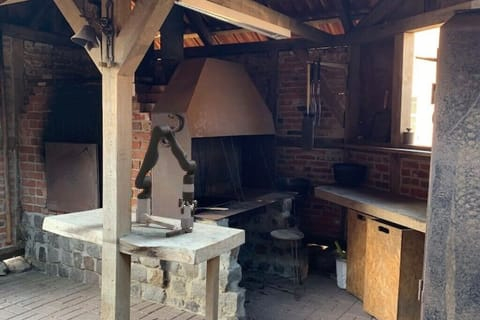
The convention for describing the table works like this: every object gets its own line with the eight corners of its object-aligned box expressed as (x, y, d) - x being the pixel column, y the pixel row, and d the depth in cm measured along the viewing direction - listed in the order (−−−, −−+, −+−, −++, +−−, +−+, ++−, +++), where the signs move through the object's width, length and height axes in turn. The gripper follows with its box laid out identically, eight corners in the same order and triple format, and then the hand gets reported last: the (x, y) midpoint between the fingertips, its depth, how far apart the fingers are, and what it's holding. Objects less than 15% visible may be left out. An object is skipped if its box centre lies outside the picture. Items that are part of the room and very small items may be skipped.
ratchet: (163, 236, 278) (163, 224, 277) (186, 230, 296) (186, 218, 295) (171, 237, 274) (171, 225, 273) (194, 231, 292) (194, 220, 291)
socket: (180, 227, 290) (180, 217, 290) (186, 225, 295) (186, 216, 294) (187, 228, 287) (187, 218, 286) (193, 227, 292) (193, 217, 291)
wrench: (175, 234, 296) (139, 224, 307) (177, 233, 297) (140, 223, 309) (177, 222, 295) (140, 213, 307) (178, 222, 297) (142, 212, 308)
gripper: (176, 190, 290) (175, 214, 291) (192, 192, 282) (192, 217, 283) (183, 188, 296) (183, 212, 298) (200, 191, 288) (199, 215, 290)
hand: (187, 215), depth 291 cm, fingers open, 8 cm apart
